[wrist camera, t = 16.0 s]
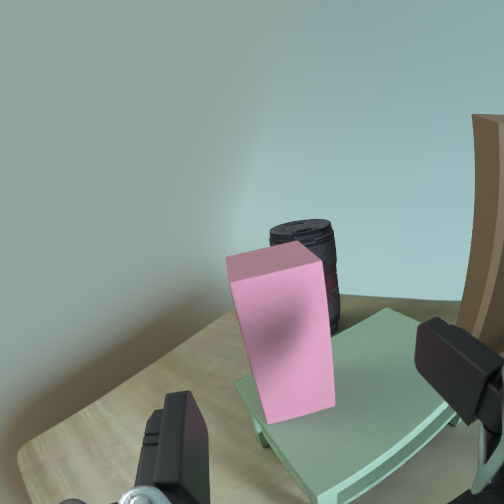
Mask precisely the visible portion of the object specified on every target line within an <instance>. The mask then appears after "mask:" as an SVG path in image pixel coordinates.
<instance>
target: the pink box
mask: <svg viewBox="0 0 504 504" xmlns="http://www.w3.org/2000/svg"><path fill="white" fill-rule="evenodd" d="M226 263H227V272H228V280H229V286H230V290H231V294H232V298H233V302H234V306H235V310H236V314H237V317H238V321H239V325H240V329H241V333H242V336H243V340H244V344H245V347H246V351H247V355H248V359H249V362H250V366H251V369H252V373H253V377H254V380H255V384H256V387H257V391H258V394H259V398H260V401H261V405H262V408H263V412H264V415H265V419H266V422H267V424H273V423H277V422H281V421H285V420H289V419H293V418H297V417H300V416H304V415H307V414H311V413H314V412H317V411H321V410H324V409H327V408H330V407H333V406H335V387H334V371H333V358H332V346H331V334H330V324H329V314H328V305H327V296H326V287H325V279H324V271H323V264H322V260H320V259H319V258H318V257H317V256H316V255H314V254H313V253H312V252H311V251H310V250H308V249H307V248H306V247H305V246H304V245H302V244H301V243H300V242H299V241H293V242H289V243H284V244H280V245H276V246H271V247H267V248H263V249H258V250H254V251H250V252H246V253H241V254H237V255H233V256H229V257H226Z"/></svg>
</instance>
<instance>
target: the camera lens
mask: <svg viewBox="0 0 504 504" xmlns="http://www.w3.org/2000/svg"><path fill="white" fill-rule="evenodd" d="M269 241H270V247H271V246H276V245H280V244H284V243H289V242H293V241H299V242H300V243H301V244H302V245H304V246H305V247H306V248H307V249H308V250H310V251H311V252H312V253H313V254H314V255H316V256H317V257H318V258H319V259H320V260H322V264H323V271H324V279H325V287H326V296H327V305H328V314H329V324H330V334H331V336H332V335H333V334H334V333H335V332H336V330H337V328H338V321H339V319H340V295H339V288H338V279H337V273H336V272H337V270H336V262H337V258H336V247H335V238H334V231H333V229H332V227H331V222H330V221H328V220H325V219H309V220H300V221H293V222H288V223H285V224H281V225H278V226H275V227H273V228H271V229H270V238H269Z"/></svg>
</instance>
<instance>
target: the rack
mask: <svg viewBox="0 0 504 504" xmlns="http://www.w3.org/2000/svg"><path fill="white" fill-rule="evenodd" d="M419 324H421V322H419V321H417V320H414V319H412V318H410V317H408V316H405V315H403V314H401V313H399V312H396V311H394V310H392V309H390V308H387V307H385V308H384V309H382V310H380V311H379V312H377V313H375V314H373V315H372V316H370V317H368V318H366V319H365V320H363V321H361V322H359V323H357V324H356V325H354V326H352V327H350V328H348V329H346V330H344V331H343V332H341V333H339V334H337V335H335V336H333V337H331V346H332V358H333V371H334V387H335V406H333V407H330V408H327V409H324V410H321V411H317V412H314V413H311V414H307V415H304V416H300V417H297V418H293V419H289V420H285V421H281V422H277V423H273V424H267V422H266V419H265V415H264V412H263V408H262V405H261V401H260V398H259V394H258V391H257V387H256V384H255V380H254V377H253V374H251V375H249V376H246V377H244V378H241V379H239V380H236V381H235V385H236V388H237V391H238V393H239V395H240V396H241V398H242V399H243V401H244V403H245V406H246V409H247V412H248V415H249V418H250V421H251V424H252V427H253V429H254V432H255V435H256V438H257V441H258V442H259V444H260V445H261V447H262V448H264V447H266V446H268V445H270V447H271V448H272V450H273V451H274V453H275V454H276V456H277V457H278V458H279V460H280V461H281V463H282V464H283V465H284V467H285V468H286V470H287V471H288V472H289V474H290V475H291V477H292V478H293V479H294V481H295V482H296V483H297V485H298V486H299V487H300V489H301V490H302V491H303V493H304V494H305V495H306V496H307V498H308V499H309V500H310V502H311V504H348V503H350V502H351V501H353V500H355V499H356V498H358V497H359V496H361V495H362V494H364V493H365V492H367V491H368V490H370V489H371V488H373V487H374V486H375V485H377V484H378V483H380V482H381V481H382V480H384V479H385V478H386V477H388V476H389V475H390V474H392V473H393V472H394V471H395V470H397V469H398V468H399V467H401V466H402V465H403V464H404V463H405V462H407V461H408V460H409V459H410V458H411V457H413V456H414V455H415V454H416V453H417V452H418V451H419V450H421V449H422V448H423V447H424V446H425V445H426V444H427V443H428V442H429V441H430V440H431V439H432V438H434V437H435V436H436V435H437V434H438V433H439V432H440V431H441V430H442V429H443V428H444V427H445V426H446V425H447V424H448V423H451V424H452V425H454V426H456V427H457V425H458V424H459V423H460V422H461V421H462V419H461V418H460V417H459V415H458V414H457V413H456V412H455V411H454V410H453V409H452V408H451V407H450V406H449V405H448V403H447V402H446V401H445V400H444V399H443V398H442V397H441V396H440V395H439V394H438V393H437V392H436V391H435V389H434V388H433V387H432V386H431V385H430V384H429V383H428V382H427V381H426V380H425V379H424V378H423V377H422V376H421V375H420V374H419V372H418V371H417V369H416V366H415V363H414V354H415V344H416V333H417V327H418V325H419Z"/></svg>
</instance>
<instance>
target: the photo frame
mask: <svg viewBox="0 0 504 504" xmlns="http://www.w3.org/2000/svg"><path fill="white" fill-rule="evenodd" d="M472 122H473V133H474V149H475V204H474V219H473V231H472V241H471V250H470V258H469V264H468V270H467V276H466V282H465V287H464V292H463V297H462V302H461V306H460V311H459V315H458V319H457V323H456V326H457V327H460V328H463V329H464V330H466V331H467V332H469V333H470V334H471V335H472V337H476V338H477V339H478V340H480V342H482V343H484V344H485V345H486V346H488V347H489V348H491V349H492V350H493V351H495V352H496V353H497V354H499V355H500V356H501V357H503V358H504V115H490V114H472Z"/></svg>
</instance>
